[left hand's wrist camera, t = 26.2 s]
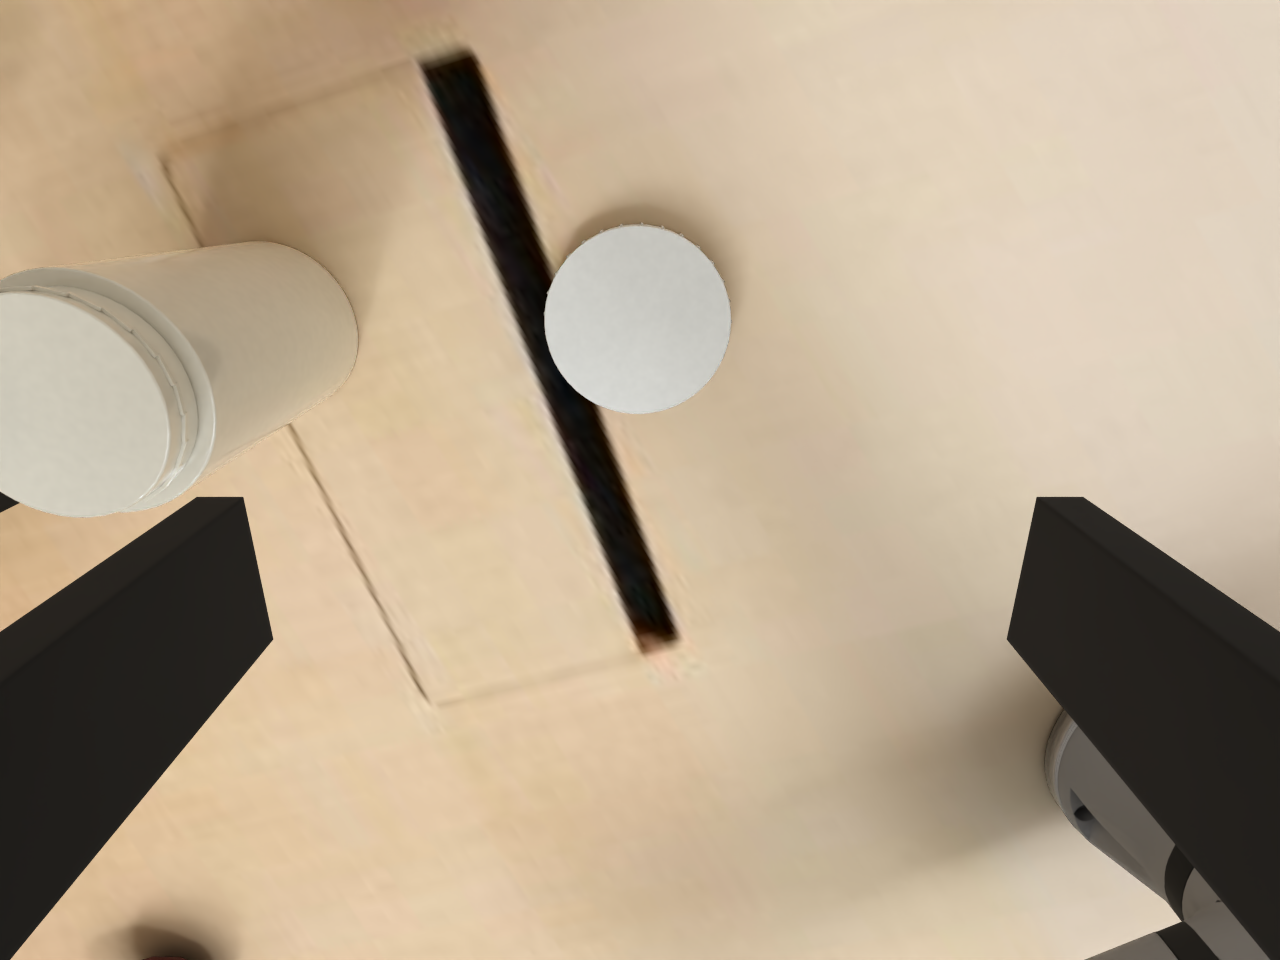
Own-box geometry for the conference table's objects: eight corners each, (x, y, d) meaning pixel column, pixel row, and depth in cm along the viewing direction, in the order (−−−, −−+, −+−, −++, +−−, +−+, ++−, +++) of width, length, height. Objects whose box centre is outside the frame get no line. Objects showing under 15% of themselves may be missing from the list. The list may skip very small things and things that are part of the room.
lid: (542, 396, 38) (538, 406, 36) (552, 212, 35) (547, 213, 33) (714, 413, 38) (718, 423, 36) (740, 232, 35) (745, 234, 33)
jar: (363, 260, 35) (185, 304, 21) (353, 422, 38) (190, 553, 24) (187, 224, 35) (-115, 245, 21) (190, 392, 38) (-72, 508, 24)
